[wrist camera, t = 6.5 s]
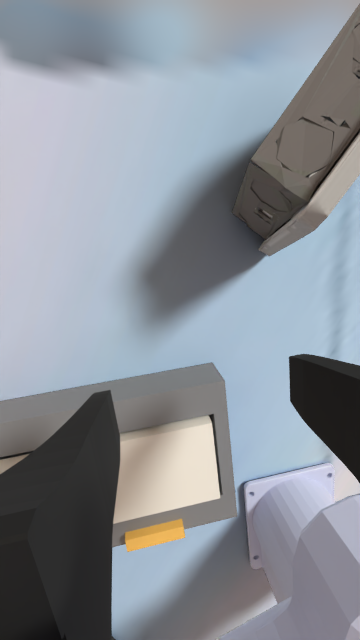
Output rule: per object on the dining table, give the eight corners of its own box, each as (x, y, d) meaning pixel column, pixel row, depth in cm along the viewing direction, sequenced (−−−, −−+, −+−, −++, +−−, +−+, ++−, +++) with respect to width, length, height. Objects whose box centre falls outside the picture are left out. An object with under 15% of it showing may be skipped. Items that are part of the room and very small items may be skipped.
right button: (212, 476, 22) (220, 498, 20) (82, 506, 21) (77, 532, 19) (204, 406, 21) (212, 423, 19) (63, 434, 20) (56, 455, 18)
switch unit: (224, 484, 25) (240, 523, 21) (-76, 554, 22) (-115, 612, 18) (212, 362, 22) (227, 385, 18) (-137, 426, 19) (-196, 466, 16)
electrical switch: (264, 258, 20) (351, 256, 11) (205, 212, 20) (247, 168, 10) (352, 140, 19) (525, 32, 10) (293, 85, 19) (426, -86, 9)
